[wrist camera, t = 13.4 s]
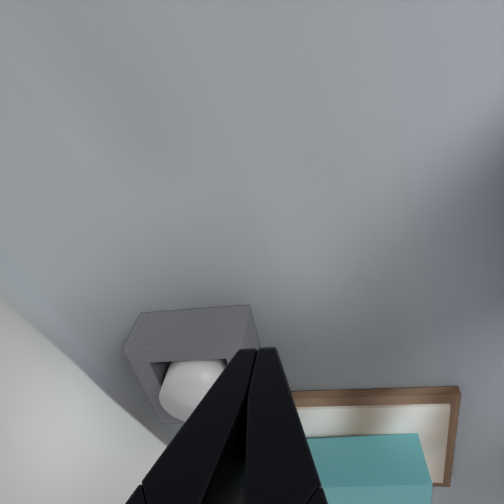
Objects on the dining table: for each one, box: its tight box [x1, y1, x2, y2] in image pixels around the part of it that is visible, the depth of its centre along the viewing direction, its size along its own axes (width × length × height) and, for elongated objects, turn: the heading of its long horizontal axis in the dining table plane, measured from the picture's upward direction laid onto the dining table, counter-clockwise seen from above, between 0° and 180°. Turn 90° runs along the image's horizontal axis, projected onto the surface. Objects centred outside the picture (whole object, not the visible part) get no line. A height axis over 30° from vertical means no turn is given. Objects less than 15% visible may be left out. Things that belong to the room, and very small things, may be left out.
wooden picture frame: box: [291, 386, 461, 487], centre depth 30 cm, size 15×11×1 cm
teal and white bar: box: [307, 433, 433, 504], centre depth 28 cm, size 12×4×4 cm, turn 101°
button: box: [159, 359, 228, 422], centre depth 25 cm, size 4×4×3 cm
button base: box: [123, 305, 260, 424], centre depth 25 cm, size 7×7×3 cm
